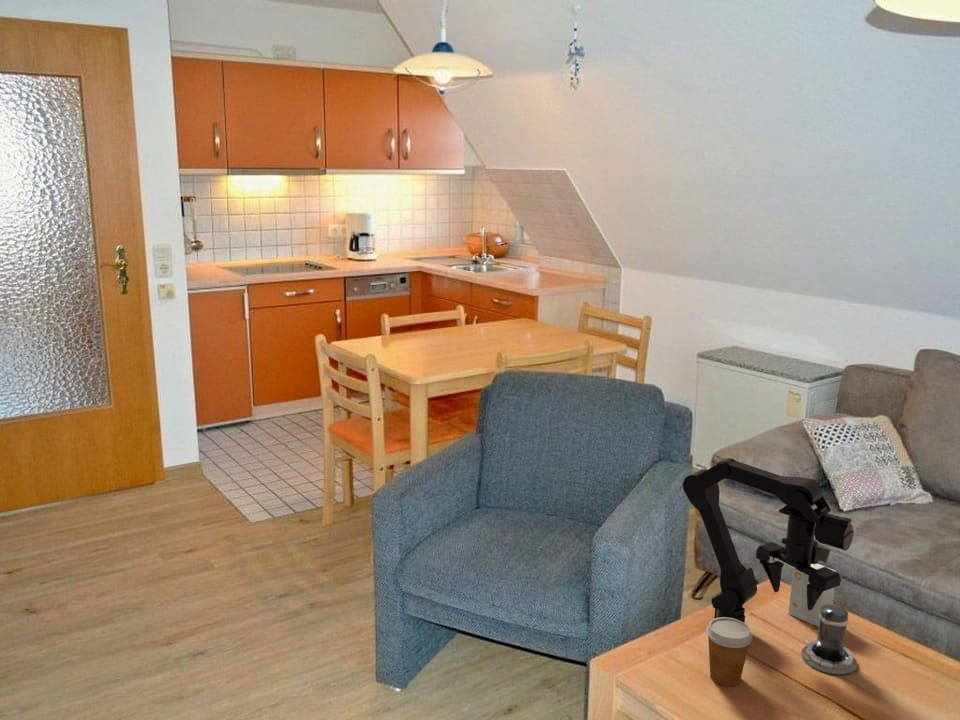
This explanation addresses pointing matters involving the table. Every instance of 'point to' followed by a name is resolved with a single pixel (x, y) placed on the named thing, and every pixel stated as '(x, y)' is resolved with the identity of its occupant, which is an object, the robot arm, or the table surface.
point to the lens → (831, 633)
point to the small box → (800, 598)
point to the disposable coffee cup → (727, 649)
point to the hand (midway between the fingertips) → (793, 600)
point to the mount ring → (827, 666)
